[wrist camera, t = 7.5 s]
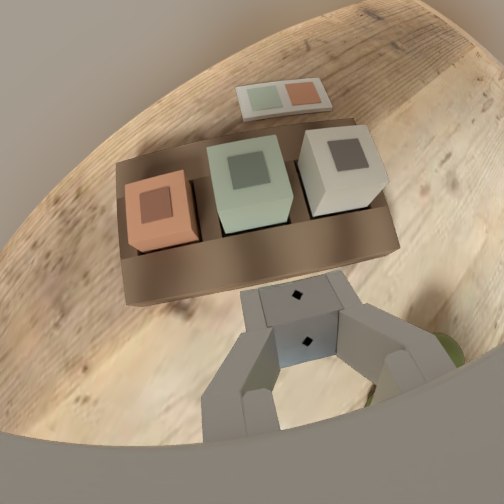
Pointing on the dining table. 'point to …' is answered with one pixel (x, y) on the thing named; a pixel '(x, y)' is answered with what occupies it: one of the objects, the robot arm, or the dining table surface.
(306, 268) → the keypad base
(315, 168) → the key ivory
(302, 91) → the tile
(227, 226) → the key sage
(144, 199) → the key rust
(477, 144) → the dining table surface
